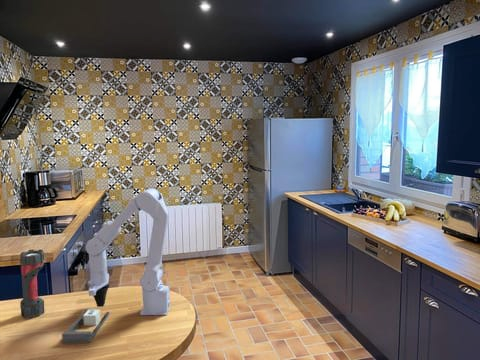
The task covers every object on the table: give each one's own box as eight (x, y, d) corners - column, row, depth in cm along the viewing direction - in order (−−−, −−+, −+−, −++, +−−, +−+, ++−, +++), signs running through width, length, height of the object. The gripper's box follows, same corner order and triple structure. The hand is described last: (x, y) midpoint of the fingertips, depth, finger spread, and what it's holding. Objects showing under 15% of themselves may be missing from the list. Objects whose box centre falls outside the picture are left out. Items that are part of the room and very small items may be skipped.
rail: (109, 314, 132) (108, 306, 131) (90, 342, 115) (89, 333, 114) (85, 314, 132) (84, 306, 131) (62, 343, 115) (61, 334, 114)
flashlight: (54, 310, 135) (49, 249, 131) (35, 321, 128) (29, 257, 124) (38, 307, 138) (33, 247, 134) (19, 317, 130) (13, 254, 127)
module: (100, 319, 129) (99, 308, 128) (96, 325, 125) (95, 314, 124) (88, 319, 129) (88, 308, 128) (84, 325, 125) (83, 314, 124)
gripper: (95, 262, 140) (97, 296, 142) (78, 278, 126) (81, 315, 128) (113, 262, 140) (115, 296, 142) (99, 278, 126) (102, 315, 128)
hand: (100, 305), depth 135 cm, fingers closed
